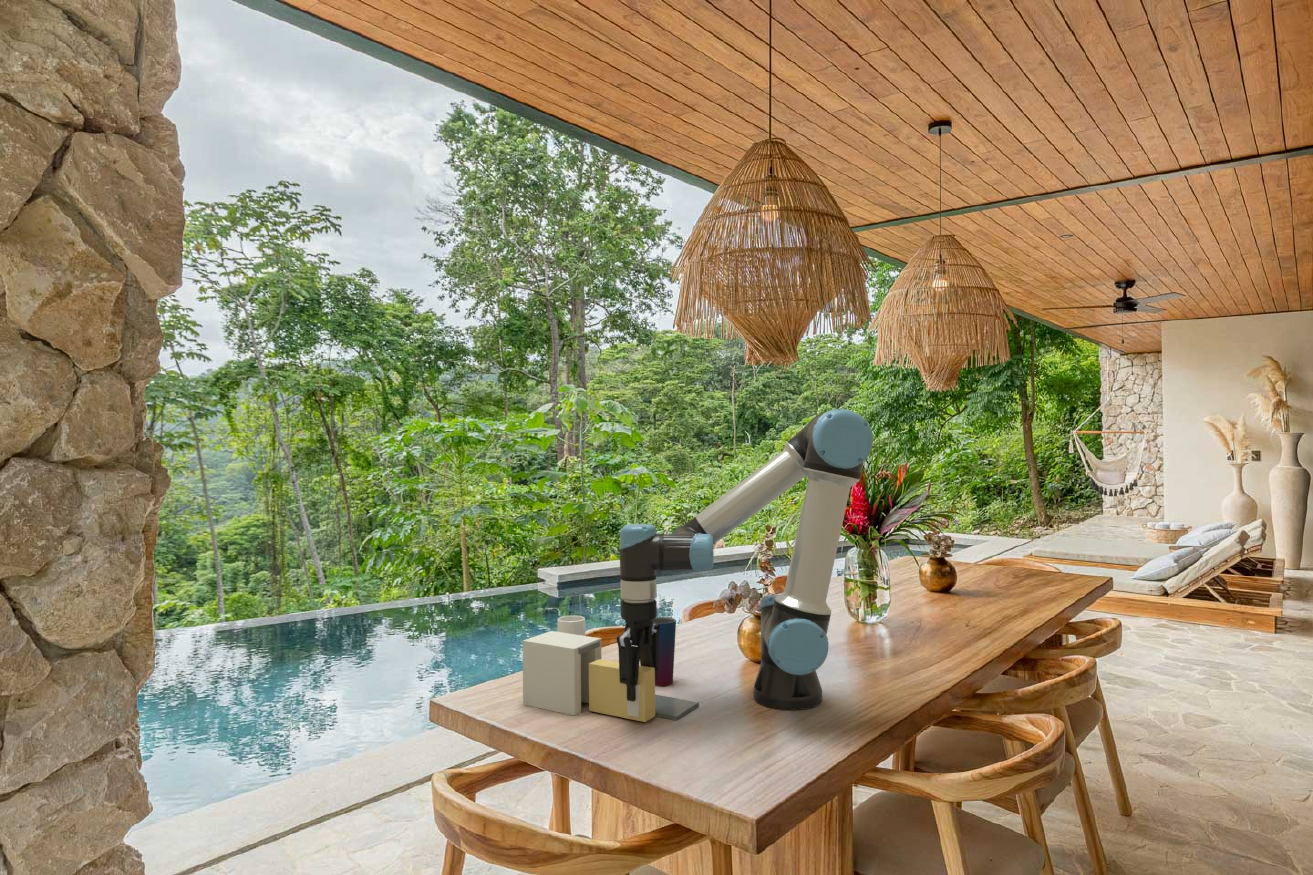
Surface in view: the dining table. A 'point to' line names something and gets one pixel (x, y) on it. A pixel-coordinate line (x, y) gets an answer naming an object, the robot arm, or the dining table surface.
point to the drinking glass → (571, 625)
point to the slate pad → (673, 707)
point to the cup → (665, 650)
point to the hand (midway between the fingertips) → (640, 711)
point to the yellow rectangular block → (619, 690)
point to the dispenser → (558, 670)
